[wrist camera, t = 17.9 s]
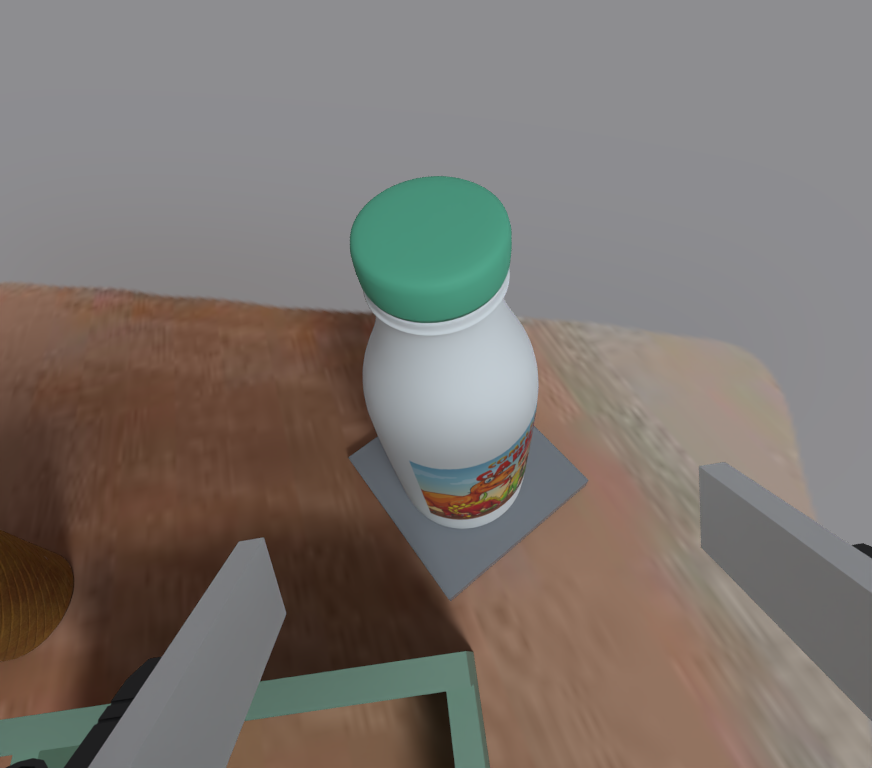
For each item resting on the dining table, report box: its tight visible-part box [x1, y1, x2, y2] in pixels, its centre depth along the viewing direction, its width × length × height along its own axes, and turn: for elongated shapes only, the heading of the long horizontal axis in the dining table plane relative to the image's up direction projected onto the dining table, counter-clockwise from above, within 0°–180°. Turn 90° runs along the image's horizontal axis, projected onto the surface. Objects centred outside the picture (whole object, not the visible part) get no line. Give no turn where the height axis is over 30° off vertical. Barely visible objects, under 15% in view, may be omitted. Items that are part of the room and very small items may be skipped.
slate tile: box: [348, 426, 588, 601], centre depth 30 cm, size 11×11×1 cm
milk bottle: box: [350, 176, 538, 529], centre depth 21 cm, size 8×8×20 cm
